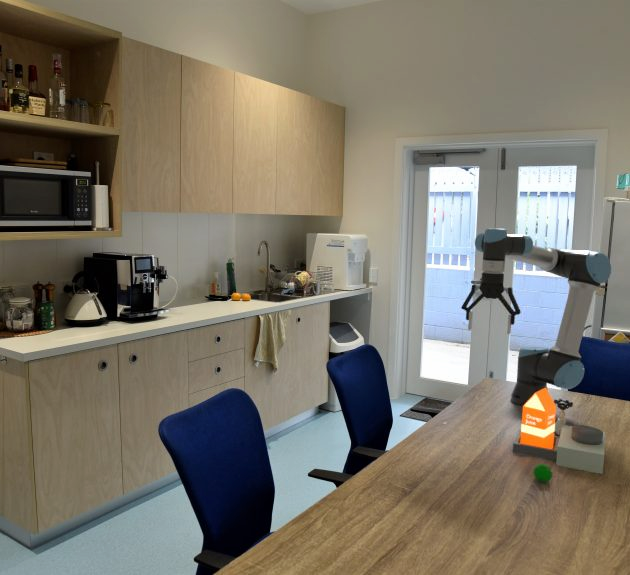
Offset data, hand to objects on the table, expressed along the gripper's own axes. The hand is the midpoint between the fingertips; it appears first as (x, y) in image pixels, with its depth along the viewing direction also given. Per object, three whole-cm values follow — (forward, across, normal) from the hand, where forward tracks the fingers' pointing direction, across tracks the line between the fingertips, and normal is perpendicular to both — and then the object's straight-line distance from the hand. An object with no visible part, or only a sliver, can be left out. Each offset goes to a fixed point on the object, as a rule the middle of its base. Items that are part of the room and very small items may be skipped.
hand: (489, 331), depth 214 cm
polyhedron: (+35, +24, -39) cm, 58 cm away
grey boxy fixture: (+35, +26, -14) cm, 46 cm away
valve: (+35, +26, +4) cm, 44 cm away
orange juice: (+35, +20, -14) cm, 42 cm away
